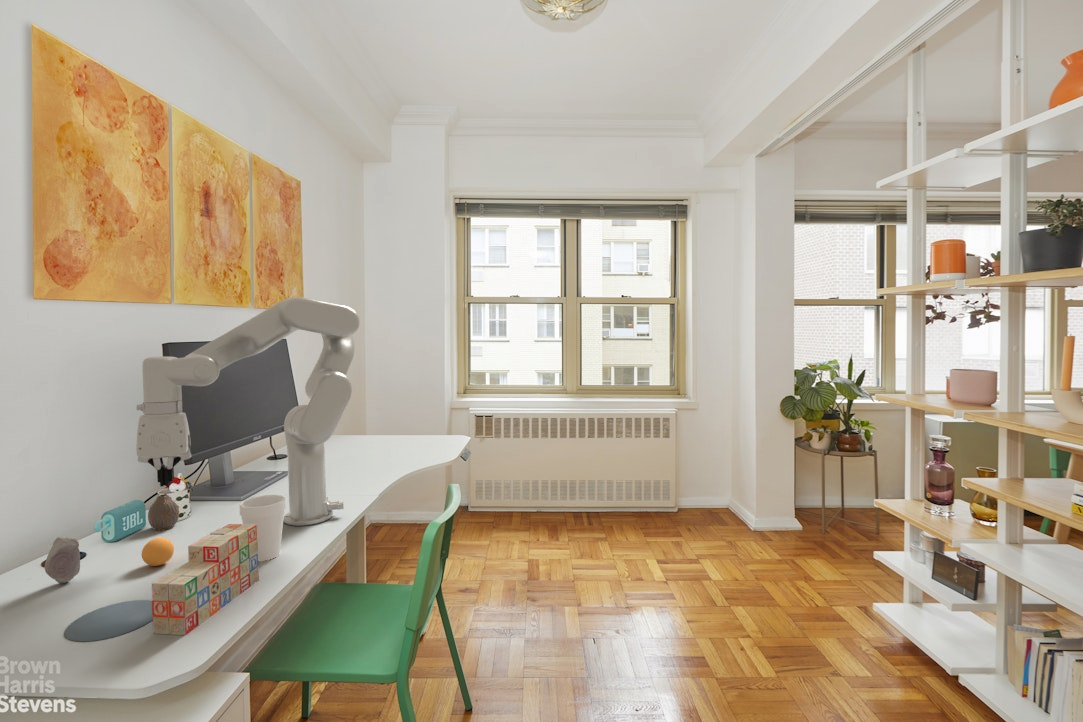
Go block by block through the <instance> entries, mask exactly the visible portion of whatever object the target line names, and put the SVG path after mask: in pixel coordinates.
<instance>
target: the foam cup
mask: <svg viewBox="0 0 1083 722" xmlns="http://www.w3.org/2000/svg"><path fill="white" fill-rule="evenodd" d="M285 509H286V497H285V496H283V495H277V494H267V495H258V496H253V497H250V498H247V499H245V500H243V501H241V502H240V504H239V516H240V517H241V522H242V523H241V524H242V525H243V524H253V525H257V539H258V561H259V562H266V561H265V560H267V561H271V560H274V559H275V557H276V558H277V557H279V556H280V553H281V548H282V547H281V546H282V537H283V529H284V527H283V526H284V516H285ZM278 555H279V556H278ZM273 558H274V559H273ZM270 559H271V560H270Z"/></svg>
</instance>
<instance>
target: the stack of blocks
mask: <svg viewBox="0 0 1083 722" xmlns="http://www.w3.org/2000/svg"><path fill="white" fill-rule="evenodd" d="M187 549H188V550H187V551H188V553H187V555H188V557H187V558H188V559H187V560H188V561H187V562H186V563H184V564H182V565H181V566H178V568H175V569H173V570H171V571H170V572H168V573H166V574H165V575H163V576H162V577H159V578H158V579H157V580H155V581H153V582H152V583H151V601H152V616H153V620H152V630H153V631H152V632H153V634H156V635H173V636H174V635H175V636H177V635H178V636H186V635H188V634H189V633H190V632H191V631H193V630H194V629H195V628H196V627H198V626H200V625H201V624H203V623H204V622H206V621H207V620H208V619H209V618H211V617H212V616H214V615H215V614H216V613H218V612H220V610H221V609H223V607H225V606H226V605H228V604H229V603H231V602H232V601H233V600H234V599H236V597H238V596H239V595H241V594H242V593H244V592H245V591H247V590H248V589H249V588H250V587H252V586H253V585H254V584H256V583H258V581H260V575H259V572H260V570H259V568H260V567H259V562H258V539H257V525H253V524H243V523H240V524H239V523H229V524H226V525H225V526H223V527H221V528H218V529H215V530H214V531H212V532H210V533H209V534H207V535H205V536H203V537H202V538H200V539H199V540H196V541H195V542H193V543H191V544H189V545H187ZM255 582H256V583H255ZM251 585H252V586H251ZM247 588H248V589H247Z"/></svg>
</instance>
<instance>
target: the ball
mask: <svg viewBox="0 0 1083 722" xmlns="http://www.w3.org/2000/svg"><path fill="white" fill-rule="evenodd" d="M174 547H175V545H174V544H173V543H172V541H171V540H169V539H167V538H165V537H156V538H152V539H151V540H149V541H148V542H147V543H145V544H144V546H143V548H142V549H141V559H142V561H143V562H144V563H145V564H147V565H148V566H151V567H159V566H162V565H164V564H167V562H169V561H170V559H172V557H173V555H174V552H175V548H174Z"/></svg>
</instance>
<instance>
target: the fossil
mask: <svg viewBox="0 0 1083 722" xmlns="http://www.w3.org/2000/svg"><path fill="white" fill-rule="evenodd" d="M44 563H45V564H44V572H45V573H46V575H47V576H49V577H50V578H51V579H52V580H55V582H57V583H59V584H67V583H69V582H71V581H72V580H73V579H74V578H75V577H76V576H77V575H79V573H80V571H81V570H80V569H81V550H80V542H79V540H78V539H76V538H70V537H62V536H61V537H60V536H57V538H55V540H54V541H53V543H52V546H51V547H50V550H49V552H48V554H47V556H46V560H45V562H44ZM66 582H67V583H66Z"/></svg>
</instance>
